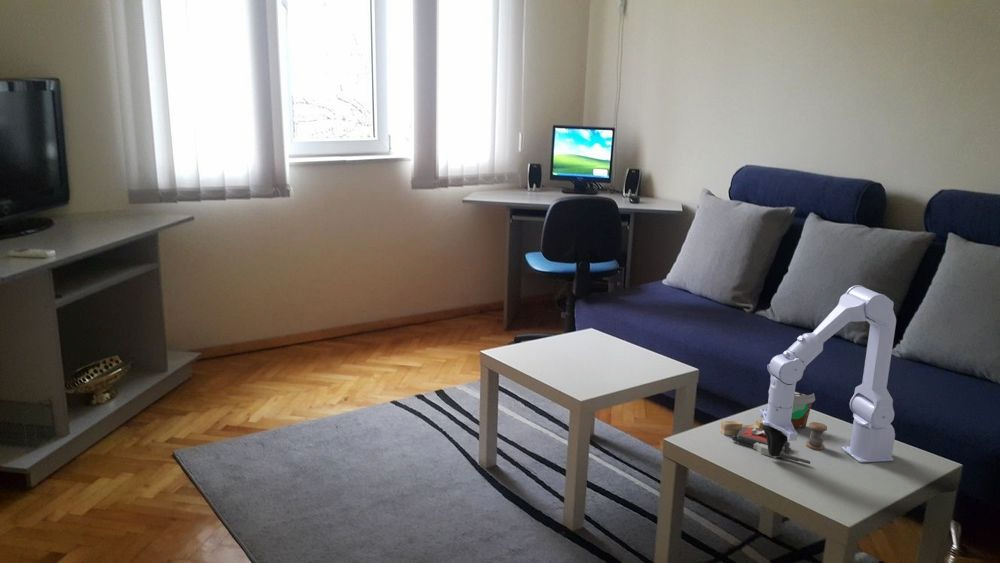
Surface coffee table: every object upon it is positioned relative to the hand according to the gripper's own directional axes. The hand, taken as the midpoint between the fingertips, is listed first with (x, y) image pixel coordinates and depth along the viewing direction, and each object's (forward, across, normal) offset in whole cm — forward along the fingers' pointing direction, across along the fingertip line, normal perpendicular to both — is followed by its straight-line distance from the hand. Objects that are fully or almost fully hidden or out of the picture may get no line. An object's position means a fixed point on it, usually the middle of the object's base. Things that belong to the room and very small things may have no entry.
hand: (773, 454), depth 190 cm
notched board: (+1, -16, +2) cm, 16 cm away
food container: (+2, -19, +14) cm, 24 cm away
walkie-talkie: (+2, -5, +3) cm, 6 cm away
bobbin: (+1, -6, +15) cm, 16 cm away
